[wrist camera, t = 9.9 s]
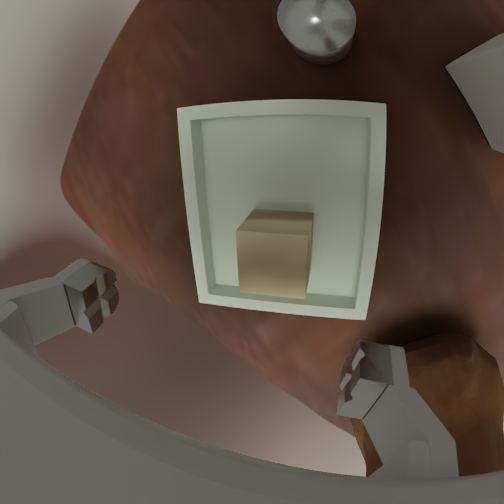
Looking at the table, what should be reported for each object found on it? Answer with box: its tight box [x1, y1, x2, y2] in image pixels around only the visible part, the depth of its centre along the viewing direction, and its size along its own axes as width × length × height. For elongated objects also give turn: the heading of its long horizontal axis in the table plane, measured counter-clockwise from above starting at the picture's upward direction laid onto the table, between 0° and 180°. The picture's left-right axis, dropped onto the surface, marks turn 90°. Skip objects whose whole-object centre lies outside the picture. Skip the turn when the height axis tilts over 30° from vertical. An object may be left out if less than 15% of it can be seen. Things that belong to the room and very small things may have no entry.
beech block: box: [236, 209, 314, 299], centre depth 21 cm, size 4×4×4 cm
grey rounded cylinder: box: [277, 0, 356, 65], centre depth 15 cm, size 4×4×5 cm
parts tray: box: [177, 99, 386, 320], centre depth 22 cm, size 16×14×2 cm
